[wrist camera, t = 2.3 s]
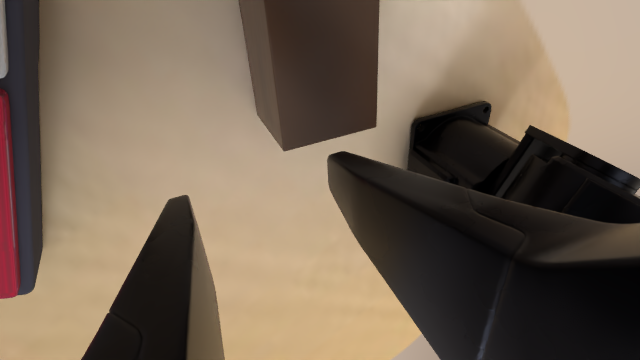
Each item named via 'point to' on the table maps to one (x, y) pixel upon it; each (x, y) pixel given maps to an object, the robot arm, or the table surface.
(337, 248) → the table surface
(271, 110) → the walnut block
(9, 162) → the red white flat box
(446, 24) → the table surface
